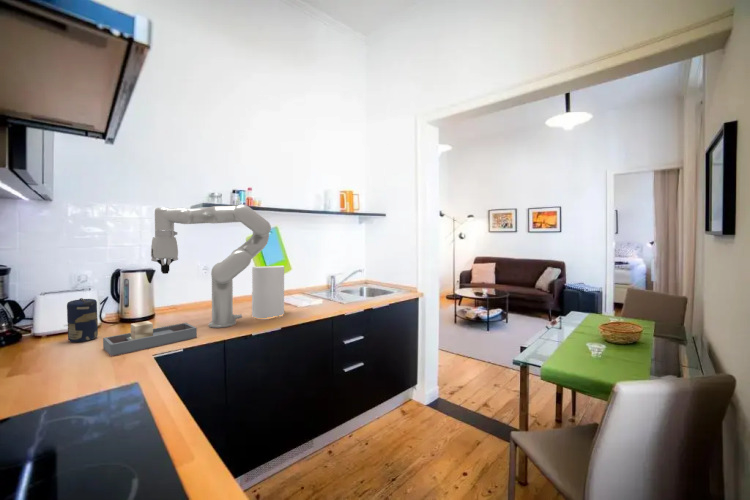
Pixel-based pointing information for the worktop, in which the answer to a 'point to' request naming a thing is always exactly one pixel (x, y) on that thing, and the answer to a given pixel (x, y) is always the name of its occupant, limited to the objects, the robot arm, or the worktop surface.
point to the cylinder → (267, 291)
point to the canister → (82, 320)
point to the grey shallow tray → (149, 339)
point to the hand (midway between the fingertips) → (165, 273)
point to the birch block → (141, 330)
